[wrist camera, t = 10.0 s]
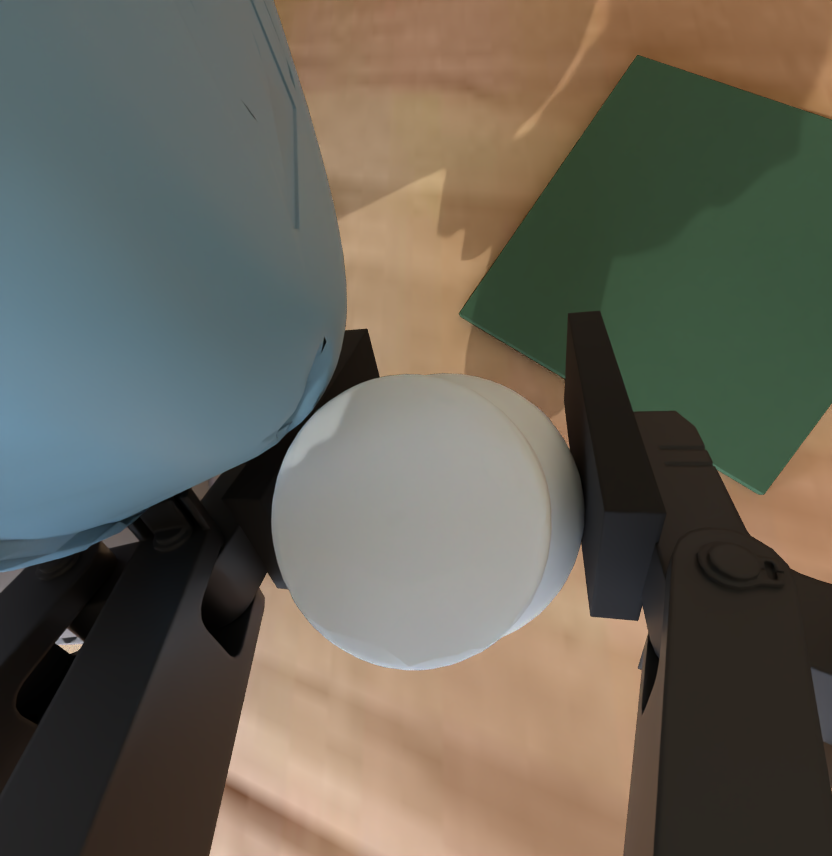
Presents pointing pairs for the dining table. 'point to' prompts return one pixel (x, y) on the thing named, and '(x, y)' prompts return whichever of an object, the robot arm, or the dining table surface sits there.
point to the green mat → (687, 262)
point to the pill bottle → (426, 518)
